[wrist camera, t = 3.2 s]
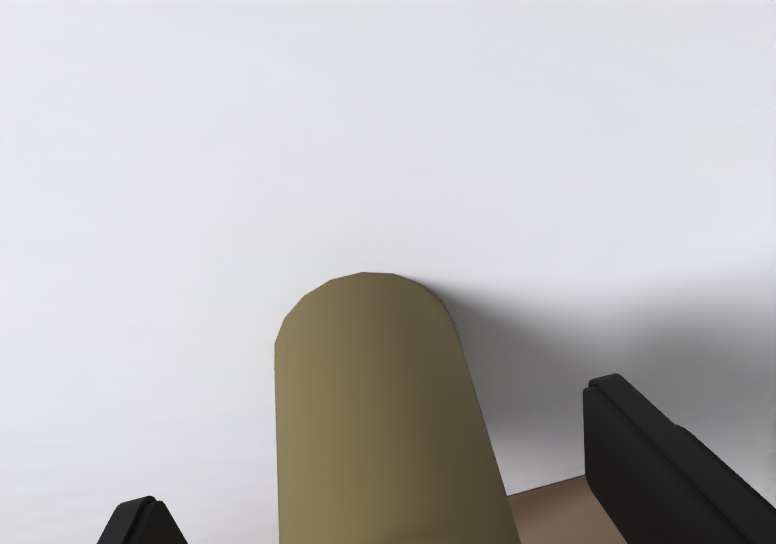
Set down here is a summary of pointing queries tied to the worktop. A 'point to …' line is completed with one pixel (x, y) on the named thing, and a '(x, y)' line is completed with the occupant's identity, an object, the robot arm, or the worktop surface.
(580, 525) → the socket block
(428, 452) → the cork
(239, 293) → the worktop surface
